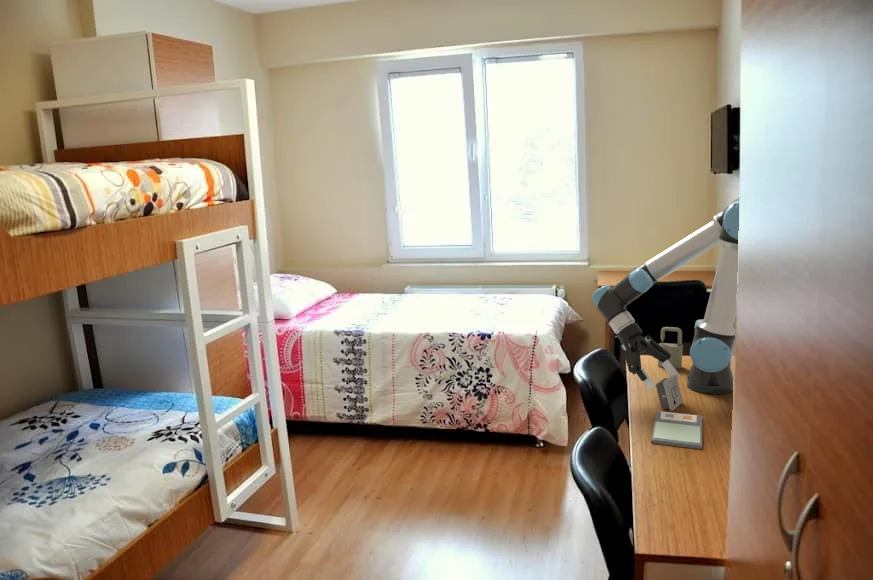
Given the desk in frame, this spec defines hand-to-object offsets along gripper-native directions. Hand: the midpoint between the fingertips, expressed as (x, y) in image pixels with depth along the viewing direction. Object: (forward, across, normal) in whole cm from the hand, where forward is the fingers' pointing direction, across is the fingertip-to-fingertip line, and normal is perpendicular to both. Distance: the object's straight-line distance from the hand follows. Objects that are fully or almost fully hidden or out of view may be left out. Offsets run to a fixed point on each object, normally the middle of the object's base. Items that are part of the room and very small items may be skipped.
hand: (665, 383), depth 210 cm
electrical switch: (+6, 0, -4) cm, 7 cm away
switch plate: (+15, +15, +5) cm, 22 cm away
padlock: (-9, -36, -20) cm, 42 cm away
